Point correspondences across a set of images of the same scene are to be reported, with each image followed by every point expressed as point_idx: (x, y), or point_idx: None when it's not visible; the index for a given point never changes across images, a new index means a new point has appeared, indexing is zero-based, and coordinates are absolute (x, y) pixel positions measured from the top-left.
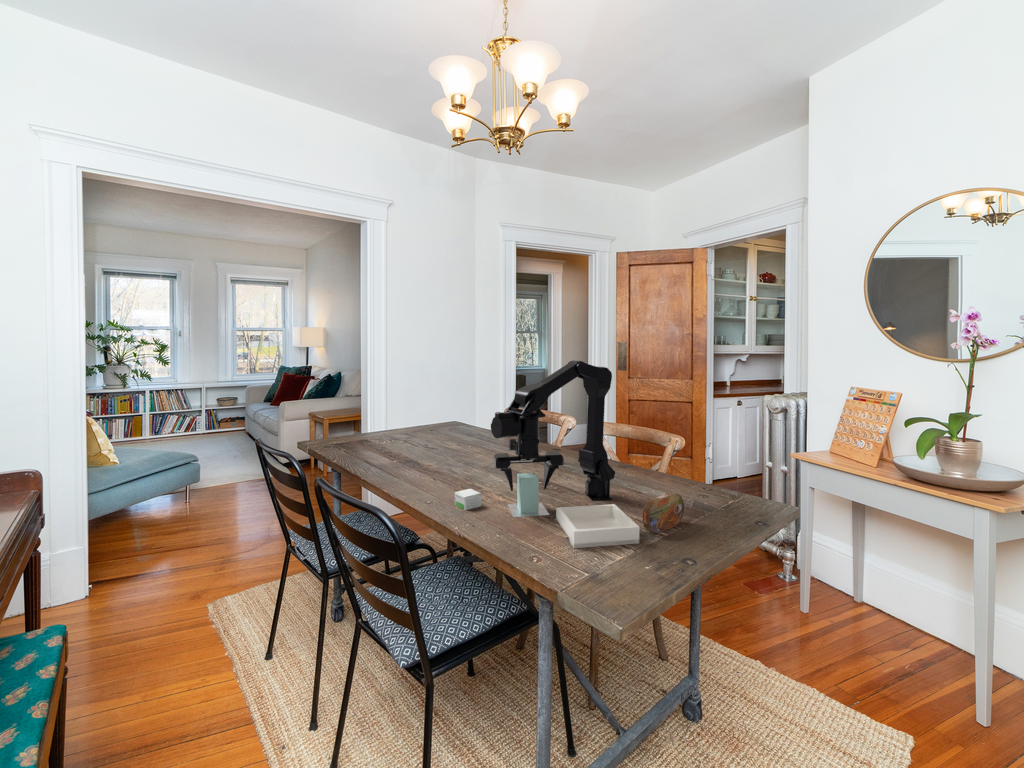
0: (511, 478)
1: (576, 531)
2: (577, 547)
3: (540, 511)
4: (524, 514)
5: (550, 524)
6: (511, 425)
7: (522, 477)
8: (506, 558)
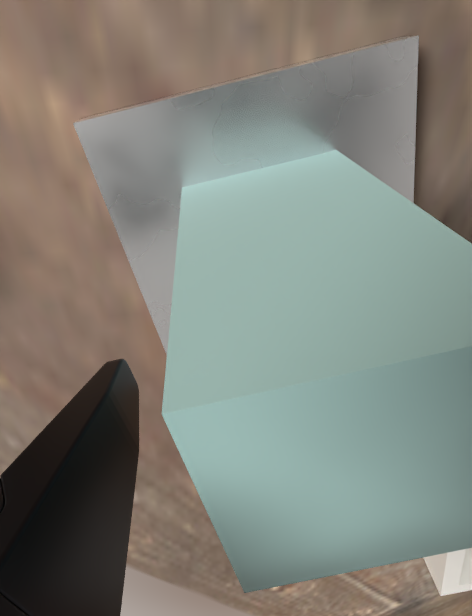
0: (109, 611)
1: (449, 593)
2: None
3: None
4: None
5: None
6: None
7: (273, 554)
8: (192, 590)
